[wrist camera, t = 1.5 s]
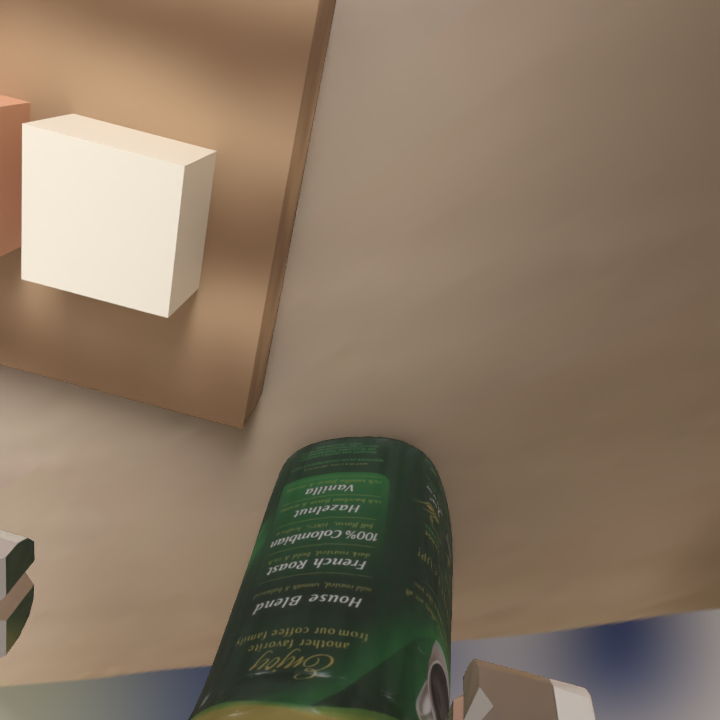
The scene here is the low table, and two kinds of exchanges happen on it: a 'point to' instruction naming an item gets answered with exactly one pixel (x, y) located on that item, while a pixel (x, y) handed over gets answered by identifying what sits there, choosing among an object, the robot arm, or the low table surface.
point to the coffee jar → (343, 593)
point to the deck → (228, 196)
